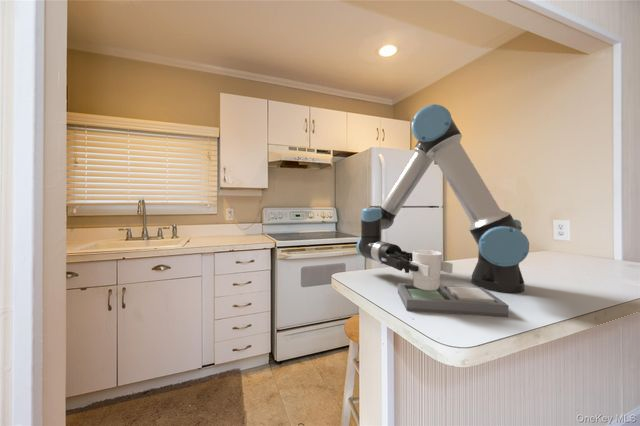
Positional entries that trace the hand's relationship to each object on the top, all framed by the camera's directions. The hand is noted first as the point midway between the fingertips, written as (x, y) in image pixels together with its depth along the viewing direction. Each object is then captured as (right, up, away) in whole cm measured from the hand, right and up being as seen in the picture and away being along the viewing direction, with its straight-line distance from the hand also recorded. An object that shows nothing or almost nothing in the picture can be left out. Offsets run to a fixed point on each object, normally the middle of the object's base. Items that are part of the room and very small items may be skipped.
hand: (440, 270), depth 69 cm
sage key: (-2, -9, +5) cm, 11 cm away
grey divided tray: (+4, -10, +4) cm, 12 cm away
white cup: (-2, -6, +5) cm, 8 cm away
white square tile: (+10, -8, +4) cm, 13 cm away
